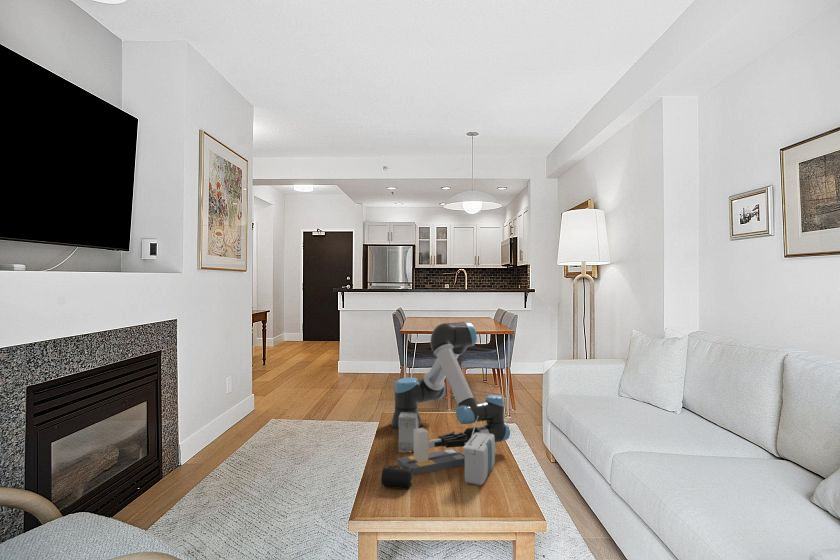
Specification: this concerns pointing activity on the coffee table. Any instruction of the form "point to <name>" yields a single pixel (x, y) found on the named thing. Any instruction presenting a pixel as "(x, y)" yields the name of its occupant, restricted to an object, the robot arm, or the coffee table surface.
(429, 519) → the coffee table surface
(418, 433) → the slider tab
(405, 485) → the end cap
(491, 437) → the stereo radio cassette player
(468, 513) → the coffee table surface
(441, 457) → the grey flat board
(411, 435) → the circuit breaker
